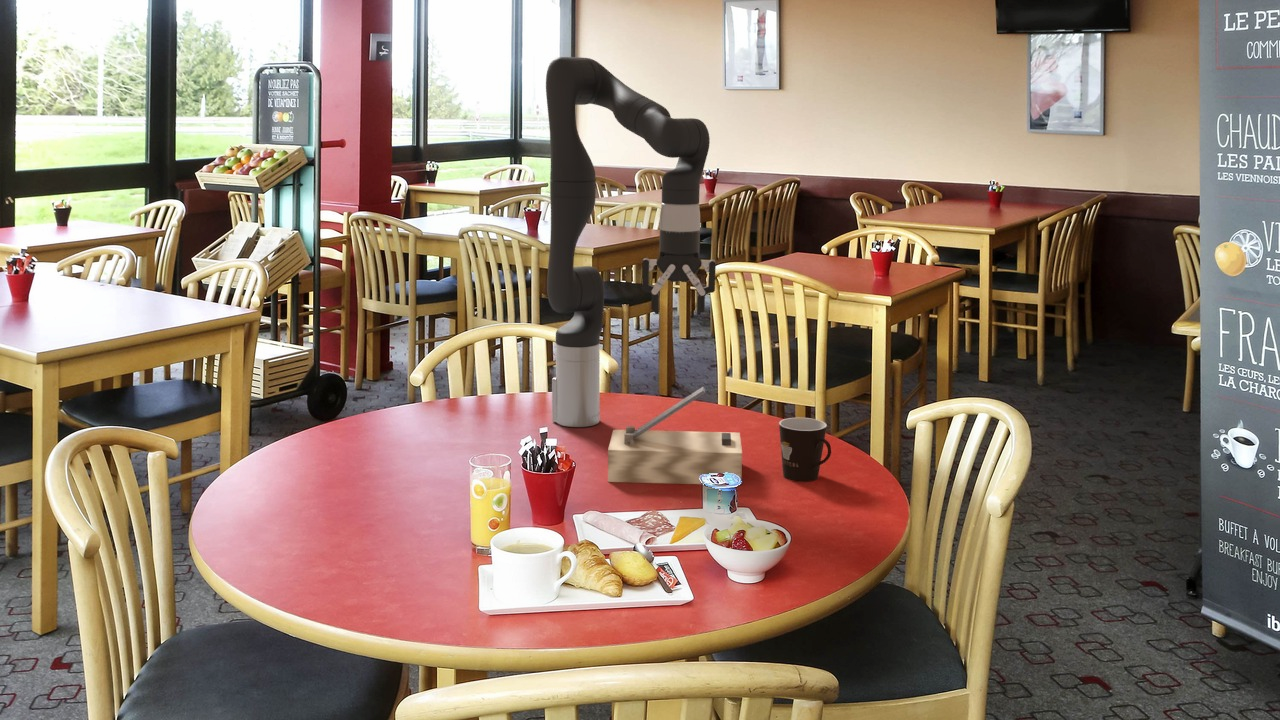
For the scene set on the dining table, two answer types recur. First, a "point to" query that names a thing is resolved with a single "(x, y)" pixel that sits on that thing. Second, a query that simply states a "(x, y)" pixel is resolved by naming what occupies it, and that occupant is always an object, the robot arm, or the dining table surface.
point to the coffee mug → (802, 448)
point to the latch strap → (669, 412)
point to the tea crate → (672, 456)
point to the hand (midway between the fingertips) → (677, 313)
